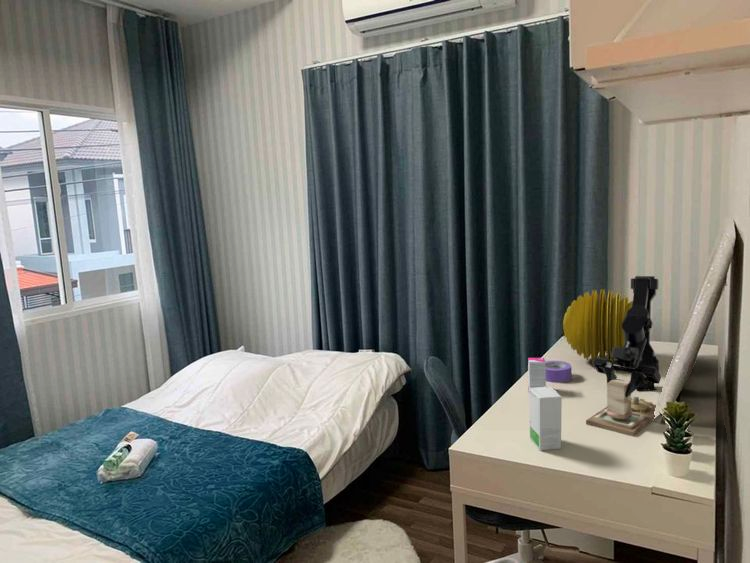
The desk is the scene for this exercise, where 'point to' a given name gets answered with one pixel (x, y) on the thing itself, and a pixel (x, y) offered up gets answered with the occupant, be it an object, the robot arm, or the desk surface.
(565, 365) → the tape roll
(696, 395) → the desk surface
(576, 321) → the lamp
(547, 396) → the skincare box
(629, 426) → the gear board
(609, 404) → the marble stone block
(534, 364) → the supplement box
